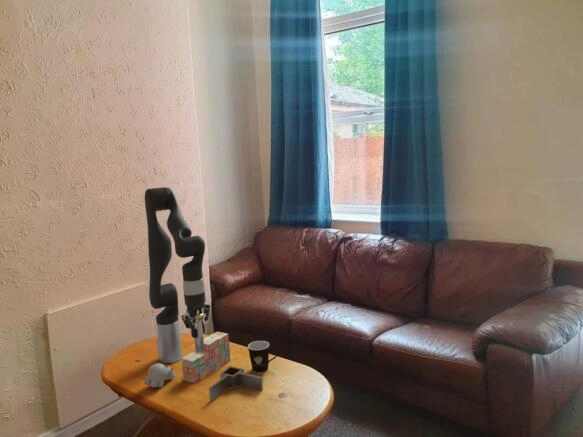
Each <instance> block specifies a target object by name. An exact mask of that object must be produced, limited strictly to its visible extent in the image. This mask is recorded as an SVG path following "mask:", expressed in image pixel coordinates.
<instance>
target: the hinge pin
mask: <svg viewBox="0 0 583 437" xmlns="http://www.w3.org/2000/svg"><path fill="white" fill-rule="evenodd" d="M202 317H204V313H202V314H199V315H198V316H197V319H198V322H197V331H198V338H193V339H194V347H195V351H196V352H201V351H204V340H203V339H204V334H203V329H202V319H201V318H202ZM190 319H193V320H195V317H194V318H191V317H190ZM193 325H194V322H193Z"/></svg>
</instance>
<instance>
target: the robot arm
mask: <svg viewBox="0 0 583 437" xmlns="http://www.w3.org/2000/svg"><path fill="white" fill-rule="evenodd" d="M144 207H145V213H146V214H145V215H146V224H147V243H148V244H147V248H148V263H149V264H148V265H149V286H148V288H149V290H148V294H149V302H150V305H151V307H152V309H155V310H158V309H162V308H164V309H162V310H161V311H160V312H159V313H158V314H157V315H156V316H155V323H156V330H157V338H156V348H157V355H158V360H159V361H160V362H161V363H162V364H173V363H176V362H179V361H181V360H182V358H183V351H182V342H181V332H180V331H181V330H180V329H181V328H180V322H179V321H180V320H179V314H180V311H179V310H180V309H179V294H178V290H177V287H176V286H175V285H174V284H173V283H165V284H162V280H163V275H164V273H165V272H166V269H167V268H168V266H169V265H170V262H171V260H172V253H173V251H172V249H173V248H172V240H173V243H174V250H175V254H176V255H177V257H179V258H182V259H185V258H189V257H190V258H191V257H192V259H191V260H189V261H187V262H186V263H184V264H183V265H182V266H181V271H182V280H183V281H182V283H183V284H182V289H183V298H184V299H183V300H184V304H185V306H186V312H185V314H182V315H181V316H180V317H181V320H182V322H183V324H184V325H185V328H186V329H190V332H191V333H190V334H191V337H192V338H193V339H194V338H198V331H197V322H198V319H197V316H198V315H199V314H202V313H204V317H202V318H201V319H202V329H203V335H205V332H206V329H205V328H206V327H205V325H206V322H207V321H208V320H209V316H210V310H211V305H210V304H207V303H206V299H207V298H206V289H205V282H204V277H203V276H204V275H203V263H204V262H203V261H204V256H205V250H206V244H205V240H204V238H202V236H200V235H194V236H192V230H191V228H190V226H189V224H188V222H187V221H186V220H185V218H184V216H183V213H182V211H181V208H180V205H179V202H178V200H177V198H176V195H175V193H174V192H173V190H172V189H171V188H169V187H165V186H164V187H153V188H147V189H146V190H145V193H144ZM167 210H168V211H170V212H169V215H168V217H167V220H166V226H167V229H168V232H169V233H170V235H171V237H172V240H171V238H170V236H169V235H168V233H167V232H166V231H165V230H164V228H163V227H162V226H161V224H160V223H159V220H158V216H157V212H161V211H162V212H163V211H167ZM190 317H191V318H194V317H195V320H193V319H190ZM193 322H194V325H193Z"/></svg>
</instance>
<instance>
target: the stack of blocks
mask: <svg viewBox="0 0 583 437" xmlns="http://www.w3.org/2000/svg"><path fill="white" fill-rule="evenodd" d="M203 340H204V351H201V352H196V350H194V351H192V352H191V353H188V354H187V355H185V356H182V358H181V365H182V366H181V368H182V377H183V380H184V381H187V382H190V383H193V384H196V383H197V382H199V381H200V380H202V379H204V378H205V377H207V376H208V375H210V374H212V373H214V372H215V371H217V370H218V369H219V368H221V367H223V366H225V365H226V364H228V363H229V362H231V350H230V338H229V333H225V332H221V331H216V332H214V333H211V334H210V335H208V336H206V337H203Z"/></svg>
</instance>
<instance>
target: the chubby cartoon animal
mask: <svg viewBox="0 0 583 437" xmlns="http://www.w3.org/2000/svg"><path fill="white" fill-rule="evenodd" d="M175 375H176V370H174V367H170V365H167V366H166V365H164V363H158V362H157V363H154V364H152V365H151V366H150V367H149V369H148V370H147V378H145V380H144V385H145V386H150V387H151V388H163V387H164V381H165V380H166V379H167V380H169V381H171V380H174V378H175Z"/></svg>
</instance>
